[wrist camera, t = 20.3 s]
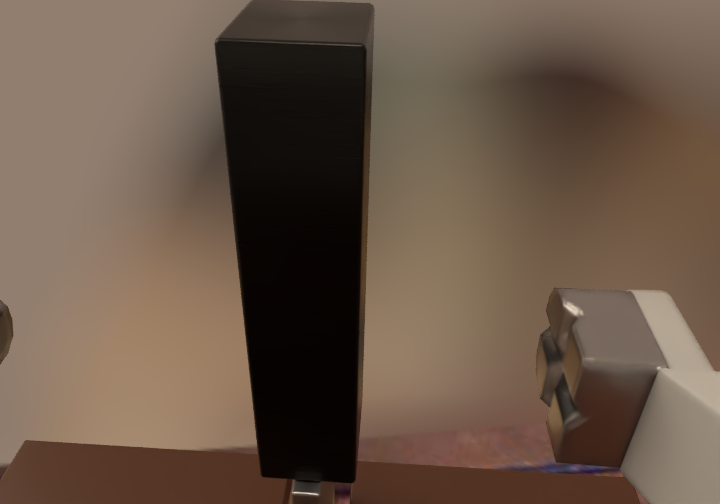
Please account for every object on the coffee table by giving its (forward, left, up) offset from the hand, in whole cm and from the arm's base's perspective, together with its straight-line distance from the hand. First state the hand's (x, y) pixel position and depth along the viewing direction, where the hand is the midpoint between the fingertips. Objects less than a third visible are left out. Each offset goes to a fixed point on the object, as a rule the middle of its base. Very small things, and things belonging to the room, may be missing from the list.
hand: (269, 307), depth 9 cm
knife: (0, +2, -15) cm, 16 cm away
